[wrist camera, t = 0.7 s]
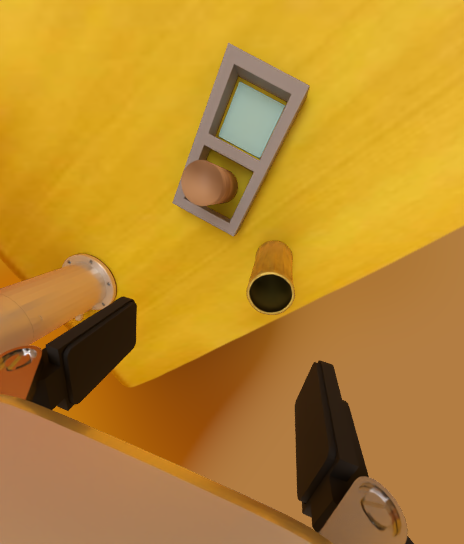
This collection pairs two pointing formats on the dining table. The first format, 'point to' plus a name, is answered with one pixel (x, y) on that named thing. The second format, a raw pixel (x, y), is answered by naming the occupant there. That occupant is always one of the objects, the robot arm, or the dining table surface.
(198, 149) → the slot rack
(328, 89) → the dining table surface
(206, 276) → the dining table surface
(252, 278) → the vase
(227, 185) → the walnut peg
